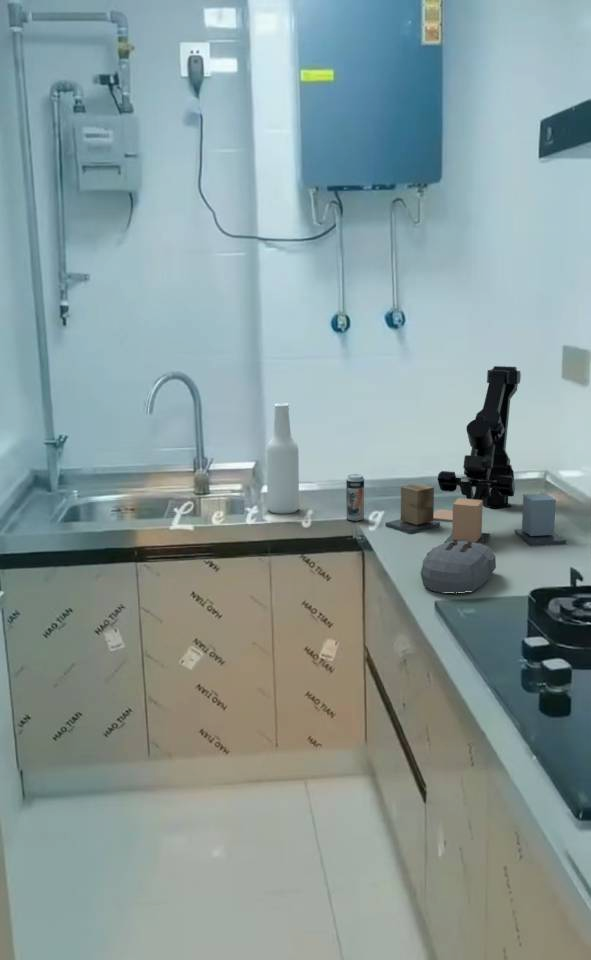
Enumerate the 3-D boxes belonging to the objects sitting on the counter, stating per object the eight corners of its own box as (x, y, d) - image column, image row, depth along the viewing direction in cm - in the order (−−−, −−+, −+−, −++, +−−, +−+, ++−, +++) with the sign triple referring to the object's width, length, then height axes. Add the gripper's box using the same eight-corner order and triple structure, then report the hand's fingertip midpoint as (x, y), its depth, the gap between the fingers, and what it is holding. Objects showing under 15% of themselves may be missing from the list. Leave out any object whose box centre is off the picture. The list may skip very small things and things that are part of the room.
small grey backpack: (438, 564, 216) (407, 591, 198) (438, 529, 214) (408, 554, 197) (503, 573, 209) (477, 602, 192) (504, 537, 207) (479, 563, 190)
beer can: (343, 520, 252) (343, 476, 249) (350, 516, 256) (350, 473, 253) (359, 522, 249) (359, 478, 247) (367, 518, 254) (367, 474, 251)
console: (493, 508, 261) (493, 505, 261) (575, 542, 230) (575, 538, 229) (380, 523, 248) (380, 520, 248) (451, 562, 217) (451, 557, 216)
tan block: (457, 533, 234) (458, 498, 232) (481, 535, 232) (482, 500, 230) (452, 539, 229) (452, 504, 227) (476, 542, 227) (477, 506, 225)
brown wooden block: (417, 516, 250) (417, 483, 248) (433, 520, 245) (434, 487, 243) (400, 520, 247) (401, 486, 244) (416, 524, 242) (417, 491, 240)
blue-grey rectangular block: (521, 529, 237) (523, 494, 235) (544, 527, 238) (546, 493, 236) (530, 536, 231) (532, 500, 229) (554, 534, 232) (555, 499, 230)
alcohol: (271, 505, 268) (269, 401, 261) (301, 506, 266) (300, 401, 259) (264, 513, 259) (262, 406, 252) (295, 515, 258) (294, 406, 251)
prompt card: (437, 511, 259) (437, 509, 259) (470, 514, 256) (470, 512, 256) (429, 519, 251) (429, 517, 251) (462, 523, 248) (462, 520, 248)
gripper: (440, 439, 237) (428, 492, 229) (515, 444, 230) (505, 498, 222) (446, 464, 246) (435, 515, 238) (519, 469, 239) (509, 522, 231)
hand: (470, 512), depth 232 cm, fingers closed, pressing on tan block
